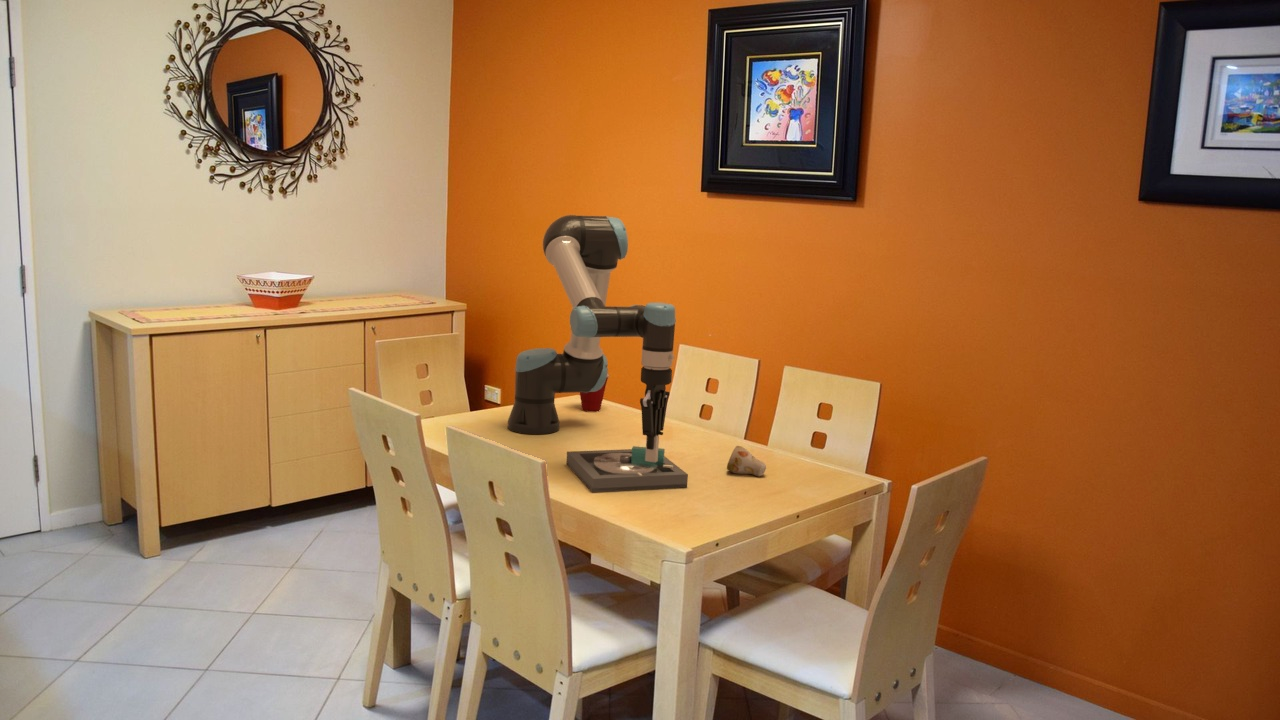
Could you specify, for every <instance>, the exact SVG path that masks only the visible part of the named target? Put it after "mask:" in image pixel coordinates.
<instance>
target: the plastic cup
mask: <svg viewBox="0 0 1280 720" xmlns="http://www.w3.org/2000/svg"><path fill="white" fill-rule="evenodd" d="M609 378H610V375H609V374H608V373H607V378H606V381H605V383H604V385H603V386H602V388H601V389H599V390H598V391H595V392H588V393H583V392H580V393H579V395H580V397H579V398H580V402H581V403H580V404H581V409H583V410H584V412H587V411H598V412H599V410H600V411H601V408H602V403H603V399H604V395H605V390H606V386H607V383H608V382H607V381H608V379H609ZM583 410H582V411H583Z"/></svg>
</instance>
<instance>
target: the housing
mask: <svg viewBox="0 0 1280 720" xmlns="http://www.w3.org/2000/svg"><path fill="white" fill-rule="evenodd" d="M609 453H632V448H631V449H630V448H629V449H628V448H627V449H625V448H624V449H605V450H603V449H601V450H576V451H566V466H567V467H568V468H569V469H570V470H571V471H572V472H573V473H574V474H575V476H576V477H578V479H579V480H580V481H581V482H582V483H583V484H584V485H585V486H586V487H587V488H588V489H589V490H590V492H591V493H592V494H593V493H608V492H609V493H610V492H613V493H614V492H630V491H631V492H633V491H649V490H651V491H652V490H668V489H669V490H670V489H687V488H688V481H689V480H688V478H689V477H688V475H689V474H688V473H687V472H686V471H684V470H683V469H682V468H680V467H679V466H678V465H677V464H676V463H674V461H671V460H670V459H669V458H668V457H666V456H665V455H664V465H663V466H661V465H657V473H637V474H616V475H600V474H599V473H598V472H597V471H596V470H595V469H594V468H593V467H594V459H595V458H596V457H597V456H600V455H603V454H609Z"/></svg>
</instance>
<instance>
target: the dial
mask: <svg viewBox="0 0 1280 720" xmlns="http://www.w3.org/2000/svg"><path fill="white" fill-rule="evenodd" d="M631 449H632V453H609V454H603V455H600V456H597V457H596V458H595V459H594V467H593V468H594V469H595V470H596V471H597V472H598V473H599V474H600V475H616V474H637V473H657V465H661V466H663V465H664V456H665V452H666V451H665V450H666V449H665V448H660V447H658V461H657V462H649V461H645V456H646V446H634V445H633V446H632V447H631Z"/></svg>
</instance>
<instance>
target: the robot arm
mask: <svg viewBox="0 0 1280 720" xmlns="http://www.w3.org/2000/svg"><path fill="white" fill-rule="evenodd" d="M628 248H629V240H628V233H627V229H626V226H625V224H624V222H623V221H622V219H620V218H618V217H615V216H614V217H611V216H607V215H605V216H603V215H602V216H601V215H576V214H568V215H564V216H561V217H559V218H557V219H555V220H554V221H553V222H552V223H551V224H549V226H548V227H547V229H546V230H545V232H544V235H543V239H542V249H543V253H544V254H543V255H544V256H545V258H546V260H547V262H548V263H549V264H551V265H552V266H553V267H554V269H555V271H556V273H557V276H558V279H559V281H560V282H561V285H562V287H563V289H564V291H565V294H566V296H567V298H568V301H569V302H570V303H569V304H571V307H572V309H571V311H570V314H569V325H570V330H571V333H570V340H569V342H567V343H565V344H564V346H563V351H562V353H558V352H557V351H556V349H554V348H549V347H547V348H546V347H545V348H543V347H542V348H541V347H539V348H533V349H528V350H524V351H521V352H519V354H518V355H517V357H516V361H515V367H514V371H515V376H514V378H515V379H514V401H513V402H514V404H513V406H512V409H511V411H510V414H509V416H508V418H507V419H508V420H507V429H508V430H509V431H512V432H515V433H519V434H524V435H548V434H552V433H553V434H554V433H557V432H558V431H559V430H560V419H559V415H558V412H557V411H558V410H557V409H556V404H555V399H556V398H555V396H556V394H568V393H569V394H570V393H571V394H574V393H575V394H576V393H579V394H580V392H583V393H588V392H595V391H598V390H599V389H601V388H602V386H603V385H604V383H605V381H606V378H607V374H608V371H609V369H608V365H609V364H608V363H609V362H608V359H607V356H606V355H605V354H604V351H603V349H602V347H600V342H601V338H629V337H630V338H642V347H641V365H642V367H640V368H641V369H640V382H641V383H643V384H644V385H646V386H645V391H644V398H643V397H640V400H639V403H640V407H641V410H640V411H641V426H642V427H641V428H642V436H646V441H645V442H646V443H645V447H646V456H645V461H649V462H657V461H658V448H659V444H660V436H663V435H664V432H663V431H664V426H665V422H666V421H665V419H666V414H667V413H666V412H667V408H668V402H669V397H670V391H667V390H666V389H667V388H666V386H667V385H671V383H672V378H673V377H672V374H673V369H672V368H671V367H672V366H673V360H674V359H675V355H674V345H675V344H674V343H675V329H676V320H677V319H676V308H675V305H674V304H671V303H665V302H648V303H646V304H645V305H643V304H640V305H639V304H634V305H630V306H606V303H607V297H608V289H609V285H610V278H611V272H612V271H614V270H616V269H617V268H618V267H617V266H618V262H619V261H621V260H623V259H625V258H626V256H627V254H628Z"/></svg>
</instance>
